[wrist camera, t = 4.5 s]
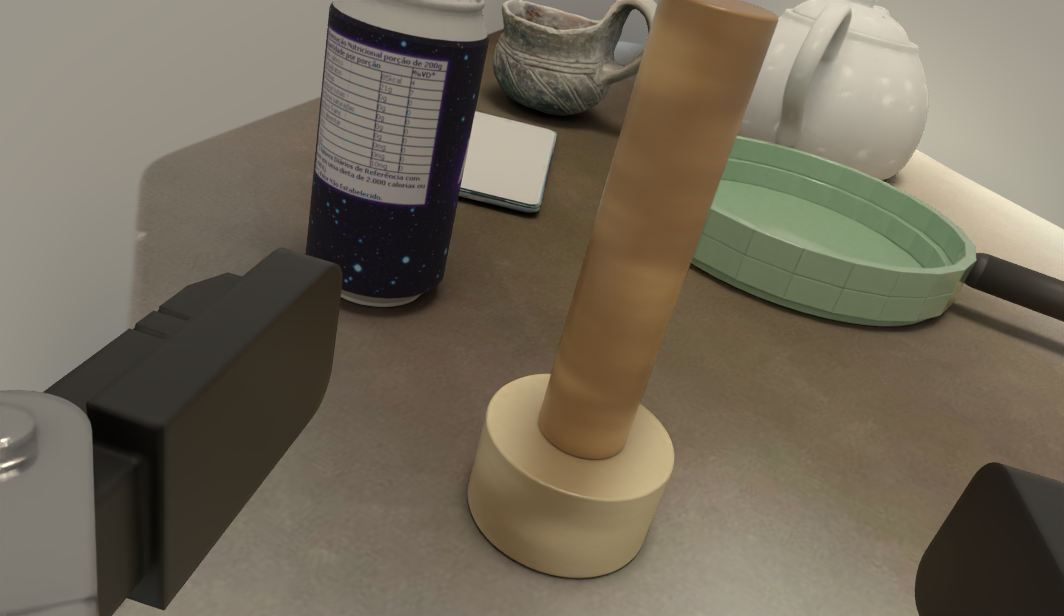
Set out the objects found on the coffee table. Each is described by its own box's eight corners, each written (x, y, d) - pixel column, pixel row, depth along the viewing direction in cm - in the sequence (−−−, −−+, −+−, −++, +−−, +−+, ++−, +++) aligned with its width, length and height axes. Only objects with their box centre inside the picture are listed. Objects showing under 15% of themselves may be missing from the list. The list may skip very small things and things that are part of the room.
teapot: (668, 100, 75) (716, -55, 69) (832, 128, 81) (890, -13, 74) (759, 177, 60) (832, -12, 53) (953, 205, 65) (1040, 37, 59)
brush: (431, 515, 23) (553, -35, 16) (518, 422, 28) (644, -35, 20) (607, 613, 21) (832, 50, 14) (667, 497, 26) (861, 29, 19)
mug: (506, 80, 68) (532, -45, 63) (647, 124, 66) (685, -2, 61) (466, 102, 60) (493, -40, 55) (626, 153, 58) (668, 10, 53)
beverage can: (462, 310, 33) (524, 15, 28) (329, 323, 30) (368, -6, 24) (409, 246, 37) (454, -24, 31) (287, 252, 34) (311, -46, 28)
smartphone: (413, 177, 43) (461, 106, 56) (412, 187, 43) (459, 114, 56) (540, 208, 43) (557, 130, 56) (538, 218, 43) (556, 138, 56)
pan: (585, 231, 44) (602, 171, 42) (683, 159, 59) (698, 114, 58) (946, 377, 38) (982, 315, 36) (947, 255, 54) (972, 208, 52)
